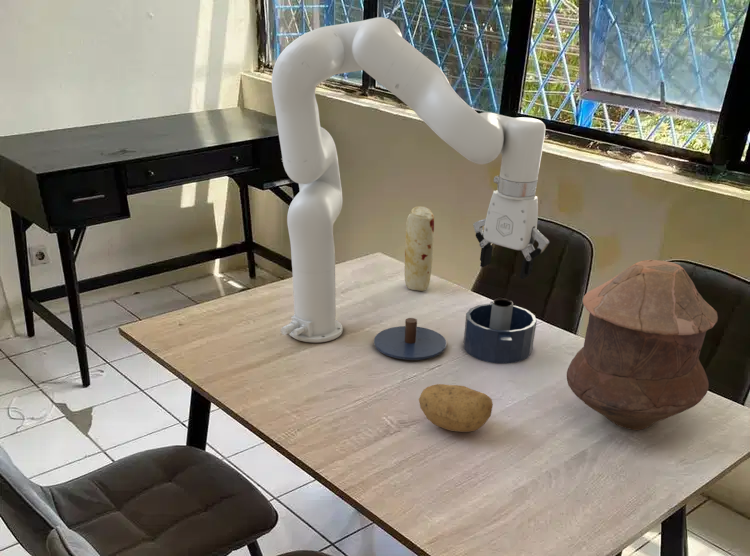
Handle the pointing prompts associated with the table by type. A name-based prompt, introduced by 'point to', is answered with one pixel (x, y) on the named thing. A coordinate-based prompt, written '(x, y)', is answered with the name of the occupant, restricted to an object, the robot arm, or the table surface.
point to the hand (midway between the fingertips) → (504, 271)
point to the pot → (499, 335)
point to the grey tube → (501, 314)
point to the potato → (455, 407)
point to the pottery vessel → (643, 346)
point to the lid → (410, 342)
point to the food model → (419, 248)
